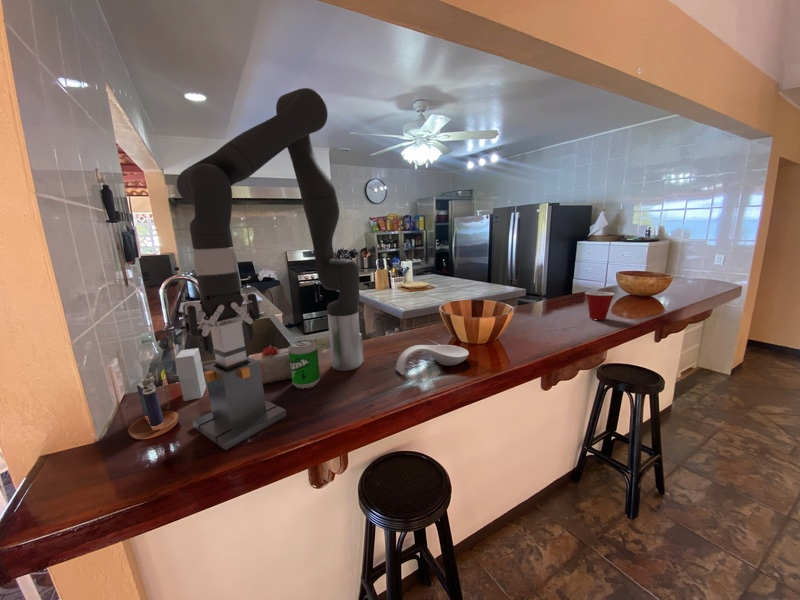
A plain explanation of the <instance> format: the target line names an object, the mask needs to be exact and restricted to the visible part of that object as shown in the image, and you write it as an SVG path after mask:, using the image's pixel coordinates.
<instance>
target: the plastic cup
mask: <svg viewBox="0 0 800 600" xmlns="http://www.w3.org/2000/svg"><path fill="white" fill-rule="evenodd" d="M615 294H616V293H615V292H609V291H585V295H586V300H587V307H588V313H589V314H588V315H589V319H590V318H592V319H597V320H604V319H605V320H606V319H607V315H608V313H609V310H610V306H611V303H612V301H613V299H614V296H615ZM592 319H591V320H592ZM597 320H596V321H597ZM605 320H604V321H605Z"/></svg>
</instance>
